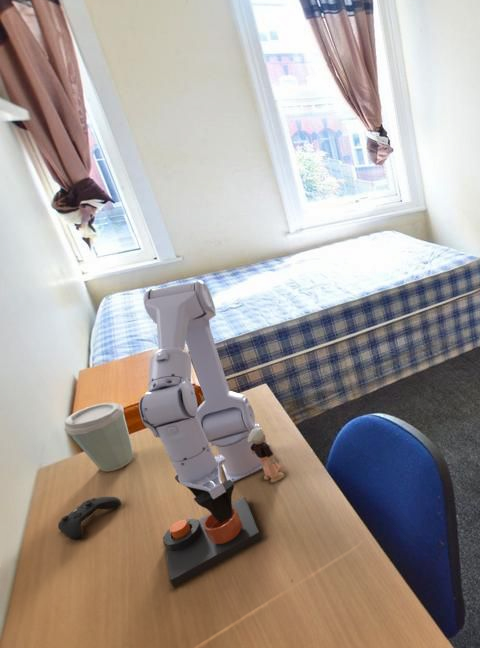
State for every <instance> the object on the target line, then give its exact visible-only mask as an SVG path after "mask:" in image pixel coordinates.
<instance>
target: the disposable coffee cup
mask: <svg viewBox="0 0 480 648" xmlns="http://www.w3.org/2000/svg"><path fill="white" fill-rule="evenodd" d="M124 411H125V410H124V407H123V405H122V404H120V403H116V402H112V401H110V402H109V401H108V402H101V403H97V404H93V405H90V406H87V407H84V408H82V409H80V410H77V411H75V412H73V413H71V415H69V416H67V417H66V418H65V422H64V428H63V429H64V431H65V432H64V433H66V434H69V437H71V438H72V440H74V441H75V443H76V444H77V446H79V447H80V448H81V449H82V451H83V452H84V453H85V454H86V456H87V457H88V458H89V459H90V460H91V461H92V462H93V464H94V465H95V466H96V467H97V469H99V470H101V471H103V472H106V473H107V472H114V471H117V470H119V469H122V468H124V467H125V466H127V465H128V464H130V463H131V461H133V459H134V449H133V444H132V441H131V437H130V433H129V429H128V425H127V421H126V417H125V413H124Z"/></svg>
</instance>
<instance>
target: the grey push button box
mask: <svg viewBox="0 0 480 648" xmlns="http://www.w3.org/2000/svg"><path fill="white" fill-rule="evenodd" d="M231 503H232V507H235V508H236V510H237V512H238V515H239V517H240V519H241V522H242V525H243V526H242V528H241V530H240V532H239V534H238V535H237V536H236V537H235V538H234V539H232V540H231V541H229V542H227V543H224V544H215V543H212V542H211V541H210V539H209V537H208V535H207V533H206V531H205V529H204V525H203V523H204V521H205V520H206V518H207V517H208V516H209V515H210V514H211V513H210V514H208V515H205V516H204V517H202V518H199V519H196V518H192V517H191V518H187V519H186V520H187V522H188V524H189V526H190V531H189V532H188V533H187V534H186V535H185V536H183V537H181V538H178V539H175V538H173V536H172V534H171V532H170V528H169V529H167V530H166V531H165V533H164V535H163V537H162V543H163V545H164V547H165V554H166V561H167V569H168V575H169V581H170V584H171V585H172V587H173V588H174V589H175V588H177V587H178V586H180V585H182V584H184V583H186V582H188V581H190V580H192V579H193V578H195V577H196V576H198V575H200V574H202V573H203V572H206V571H207V570H209V569H211V568H213V567H215V566H216V565H218V564H220V563H222V562H224V561H226V560H228V559H229V558H231V557H233V556H235V555H236V554H238V553H240V552H241V551H244V550H245V549H247V548H249V547H251V546H253V545H254V544H257V543H258V542H260V541H261V540H262V539H263V538H262V536H261V534H260V531H259V528H258V525H257V523H256V520H255V518H254V516H253V512H252V510H251V508H250V505H249V503H248V500H247V497H246V496H244V497H242V498H240V499H238V500H236V501H233V502H231Z"/></svg>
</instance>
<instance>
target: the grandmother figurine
mask: <svg viewBox="0 0 480 648" xmlns="http://www.w3.org/2000/svg"><path fill="white" fill-rule="evenodd" d="M266 438H267V437H266V434H265V433H264V430H263V428H262V427H261V428H255V429H254V430H252V431H251V433H250V434H249V437H248V442H249V443H251V442H253V444H252V446H251V450H252V454H256V455H257V456H258V457H259V459H260V461H261V464H262V467H263V468H262V470H263V472H264V476H263V479H264V480H266V481H267V480H270V482H271V483H275V482H278V481H279V480H282V479H283V478H284V477H285V474H284V473H283V472H282V471H281V472H280V466H279V464H278V462H277V459H276V458H275V456H274V453H273V451H272V449H271V447H269V446H270V444H269V443H268V442H267V443H268V444H269V445H268V444H267V443H265V442H264V441H265V439H266ZM270 449H271V450H270Z"/></svg>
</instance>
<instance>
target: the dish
mask: <svg viewBox="0 0 480 648" xmlns="http://www.w3.org/2000/svg"><path fill="white" fill-rule="evenodd" d="M208 515H209V514H208ZM203 525H204V529H205V531H206V533H207V535H208V537H209V539H210V541H211V542H212V543H215V544H224V543H227V542H229V541H231V540H232V539H234V538H235V537H236V536H237V535H238V534H239V532H240V530H241V528H242V526H243V525H242V522H241V519H240V517H239V515H238V512H237V510H236V508H235V507H232V517H230V518H229V519H227V520H225V521H224V522H222V523H219V522H218V521H217V520H216V519H215V517H214V516H213V515H212V514H211V513H210V515H209V516H208V517H207V518H206V520H205V521H204V523H203Z"/></svg>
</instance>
